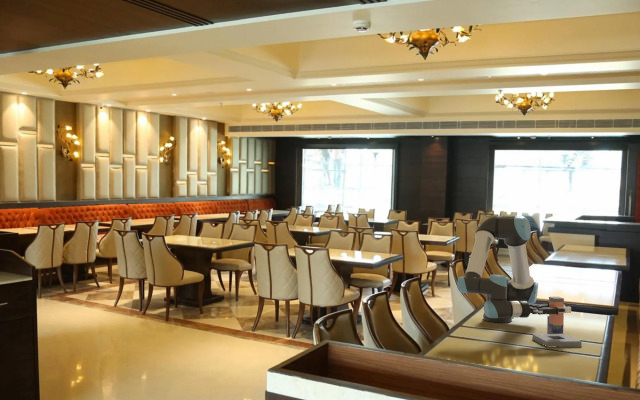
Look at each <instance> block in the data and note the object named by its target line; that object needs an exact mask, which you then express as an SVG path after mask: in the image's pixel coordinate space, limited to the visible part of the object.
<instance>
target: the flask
mask: <svg viewBox="0 0 640 400" xmlns="http://www.w3.org/2000/svg"><path fill="white" fill-rule="evenodd" d="M546 323H547V324H546V325H547V326H546V327H547V328H546V329H547V331H546V334H564V325H565V324H564V325H552V324H550V323H549V315H547V322H546Z"/></svg>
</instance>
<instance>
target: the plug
mask: <svg viewBox="0 0 640 400" xmlns="http://www.w3.org/2000/svg"><path fill="white" fill-rule="evenodd" d="M548 301H549V302H548V303H549V307H564V305H565V298H564V297H560V296H549V297H548ZM564 314H565V313H559V314H558V315H556V314H548V316H549V323H550V324H552V325H565V324H564V322H565V321H564V320H565V318H564Z"/></svg>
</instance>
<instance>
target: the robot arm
mask: <svg viewBox="0 0 640 400" xmlns="http://www.w3.org/2000/svg"><path fill="white" fill-rule="evenodd" d="M531 235H532V231H531V223H530V221H529V219H528V218H527V217H526V216H521V215H515V216H512V215H493V216H490V217H488V218H486V219H484V220H483V221H482V222H481V223H480V224H479V226H478V227H477V229H476V231H475V233H474V238H475V241H474V245H473V247H472V251H471V254H470V257H469V261H468V263H467V268H466V270H465V274H464V276H459V277H458V278H457V283H456V285H457V290H458V292H459V293H462V294H463V293H465V294H473V295H474V294H475V295H486V301H485V302H484V303H483V315H482V320H483V321H485V320H486V322H489V321H490V323H497V322H498V323H499V324H503V323H504V324H505V323H506V322H507V323H511V322H512V321H513V319H517V318H521V319H523V318H525V319H527V318H528V317H529V316H530V315H531V314H532V315H539V316H540V315H549V314H556V315H558V314H559V313H564V314H572V307H571V306H566V304H564V307H549V302H547V303H536V302H537V298H538V293H539V282H536V281H535V280H534V278H533V277H532V276H531V273H530V272H531V271H530V267H529V259H528V251H527V246H526V245H527V243H528V241H529V240H530V238H531ZM496 239H498V240H503V242H504V244H505V245H506V246H507V250H508V254H509V261H510V267H511V273H512V278H511V279H510V278H509V277H507V276H506V275H504V274H496V273H495V274H490V275H489V277H486V278H485V277H483V272H484V269H485V265H486V263H487V258H488V256H489V252H490V248H491V244H492V243H494V242H495V240H496ZM498 323H497V324H498ZM507 323H506V324H507Z"/></svg>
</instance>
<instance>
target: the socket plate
mask: <svg viewBox="0 0 640 400" xmlns="http://www.w3.org/2000/svg"><path fill="white" fill-rule="evenodd" d="M532 340H533V341H534V340H535V341H534V342H536V341H537V342H536V343H538V342H539V343H538V344H540V343H541V344H540V345H542V344H544V345H546V346H559V347H558V348H579V347H580V348H582V343H583V342H582V340H580V339H578V338H576V337H573V336H572V335H569V334H567V333H563V334H562V333H561V334H547V333H540V334H539V333H537V334H536V333H534V334H532ZM544 345H543V346H544Z"/></svg>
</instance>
